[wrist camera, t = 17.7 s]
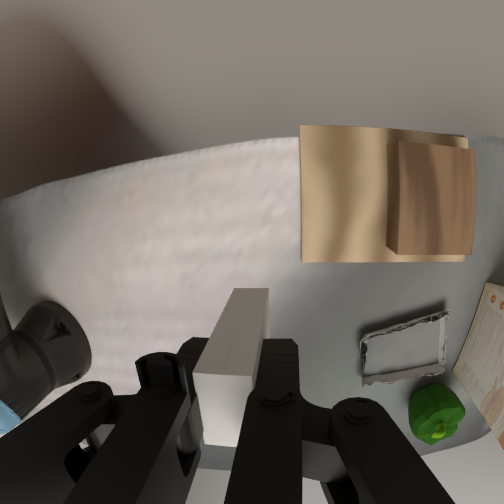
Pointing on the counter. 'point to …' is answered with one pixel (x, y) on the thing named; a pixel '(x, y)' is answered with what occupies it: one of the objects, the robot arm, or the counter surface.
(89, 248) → the counter surface
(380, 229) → the light wood board
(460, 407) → the bell pepper
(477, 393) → the coffeecake box
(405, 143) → the walnut slab
